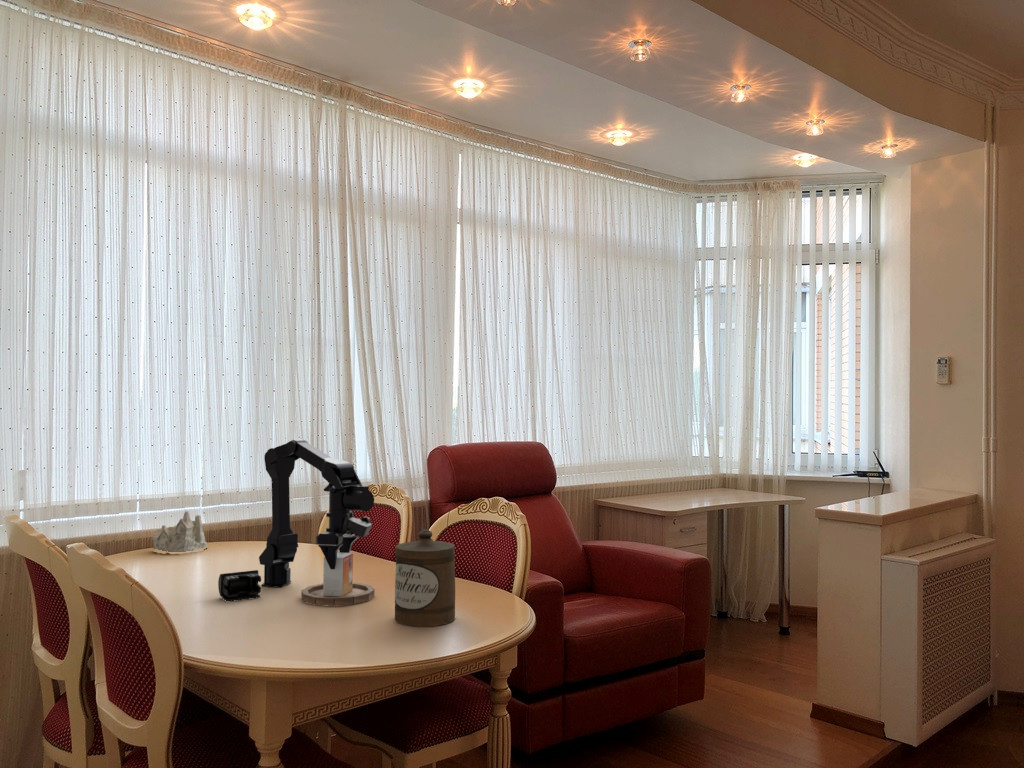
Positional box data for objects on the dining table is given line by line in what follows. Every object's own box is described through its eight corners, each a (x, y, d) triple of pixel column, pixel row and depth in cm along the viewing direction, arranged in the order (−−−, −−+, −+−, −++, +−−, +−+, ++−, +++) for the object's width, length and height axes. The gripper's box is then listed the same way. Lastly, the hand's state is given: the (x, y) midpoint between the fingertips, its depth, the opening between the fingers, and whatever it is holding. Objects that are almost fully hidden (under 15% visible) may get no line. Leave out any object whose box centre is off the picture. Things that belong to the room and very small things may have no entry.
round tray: (290, 603, 214) (290, 596, 214) (318, 587, 233) (318, 580, 233) (359, 607, 211) (359, 599, 211) (382, 590, 230) (382, 583, 230)
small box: (342, 597, 218) (342, 557, 218) (322, 596, 219) (323, 556, 219) (353, 590, 226) (353, 552, 226) (334, 589, 227) (334, 551, 227)
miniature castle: (215, 548, 294) (212, 506, 294) (181, 557, 278) (178, 513, 279) (181, 547, 299) (179, 506, 300) (146, 556, 284) (144, 513, 284)
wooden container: (382, 621, 198) (383, 530, 199) (419, 608, 211) (420, 523, 212) (430, 630, 191) (431, 536, 191) (466, 617, 203) (467, 528, 204)
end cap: (254, 592, 227) (255, 568, 227) (262, 597, 221) (262, 572, 221) (217, 597, 221) (218, 572, 222) (224, 602, 215) (225, 576, 216)
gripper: (356, 514, 212) (355, 574, 212) (378, 505, 231) (378, 560, 230) (315, 512, 214) (314, 572, 214) (341, 504, 232) (340, 559, 232)
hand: (338, 565), depth 222 cm, fingers open, 9 cm apart
